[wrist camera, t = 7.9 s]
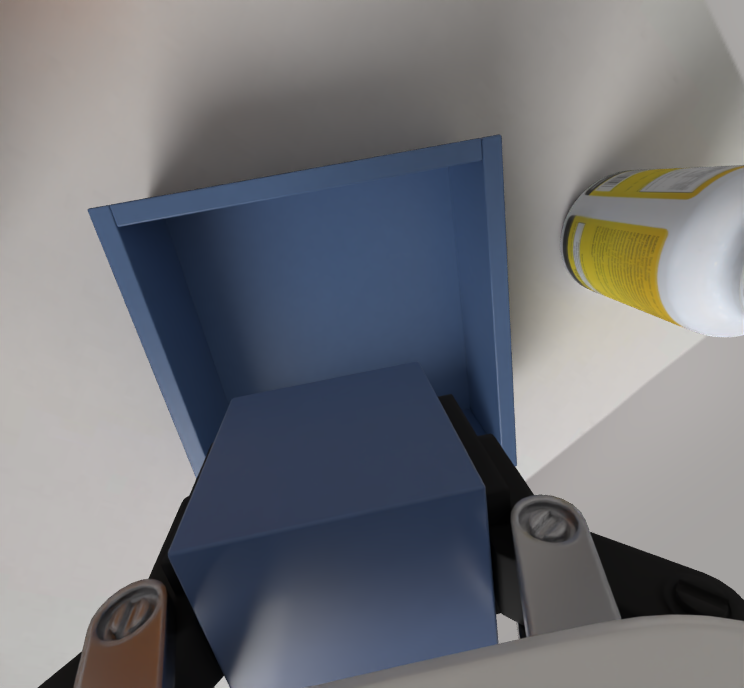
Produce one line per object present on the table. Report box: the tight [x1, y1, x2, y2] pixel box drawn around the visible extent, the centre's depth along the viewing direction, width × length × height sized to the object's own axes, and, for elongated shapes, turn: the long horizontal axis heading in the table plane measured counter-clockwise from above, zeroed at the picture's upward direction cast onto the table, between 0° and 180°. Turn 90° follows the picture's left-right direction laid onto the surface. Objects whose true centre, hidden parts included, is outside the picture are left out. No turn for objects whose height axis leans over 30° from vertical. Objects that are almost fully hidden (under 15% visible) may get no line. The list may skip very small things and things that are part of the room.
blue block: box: [168, 361, 498, 688], centre depth 10 cm, size 5×5×5 cm
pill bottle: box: [560, 165, 744, 337], centre depth 18 cm, size 6×6×12 cm
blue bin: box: [88, 135, 517, 479], centre depth 21 cm, size 16×16×6 cm
